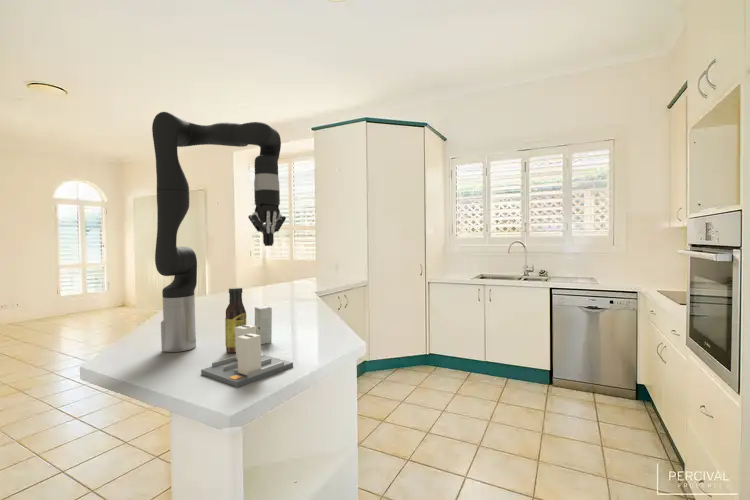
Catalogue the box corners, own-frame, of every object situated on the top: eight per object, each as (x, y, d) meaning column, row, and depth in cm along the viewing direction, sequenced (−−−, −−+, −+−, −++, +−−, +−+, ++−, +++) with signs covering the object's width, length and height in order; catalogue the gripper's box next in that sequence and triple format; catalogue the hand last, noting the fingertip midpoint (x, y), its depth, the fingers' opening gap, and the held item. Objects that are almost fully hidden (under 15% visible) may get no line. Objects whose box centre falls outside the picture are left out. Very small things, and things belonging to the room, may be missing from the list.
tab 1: (248, 355, 106) (247, 323, 106) (256, 358, 104) (256, 325, 104) (235, 359, 103) (234, 326, 103) (244, 361, 101) (243, 328, 100)
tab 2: (251, 368, 96) (250, 332, 95) (261, 370, 93) (260, 334, 93) (237, 372, 92) (236, 336, 92) (247, 375, 90) (246, 338, 90)
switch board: (256, 357, 110) (256, 349, 110) (293, 366, 100) (292, 358, 100) (201, 374, 96) (200, 365, 96) (237, 387, 87) (237, 378, 87)
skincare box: (254, 341, 128) (253, 306, 128) (266, 339, 131) (265, 305, 130) (259, 345, 123) (258, 308, 123) (273, 342, 126) (272, 307, 125)
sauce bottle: (239, 354, 113) (237, 289, 113) (221, 353, 114) (219, 289, 114) (251, 348, 119) (249, 286, 119) (233, 347, 121) (231, 286, 120)
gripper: (276, 193, 122) (277, 245, 122) (241, 189, 111) (242, 246, 112) (291, 191, 118) (293, 245, 118) (256, 186, 107) (258, 246, 107)
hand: (268, 245), depth 115 cm, fingers closed
